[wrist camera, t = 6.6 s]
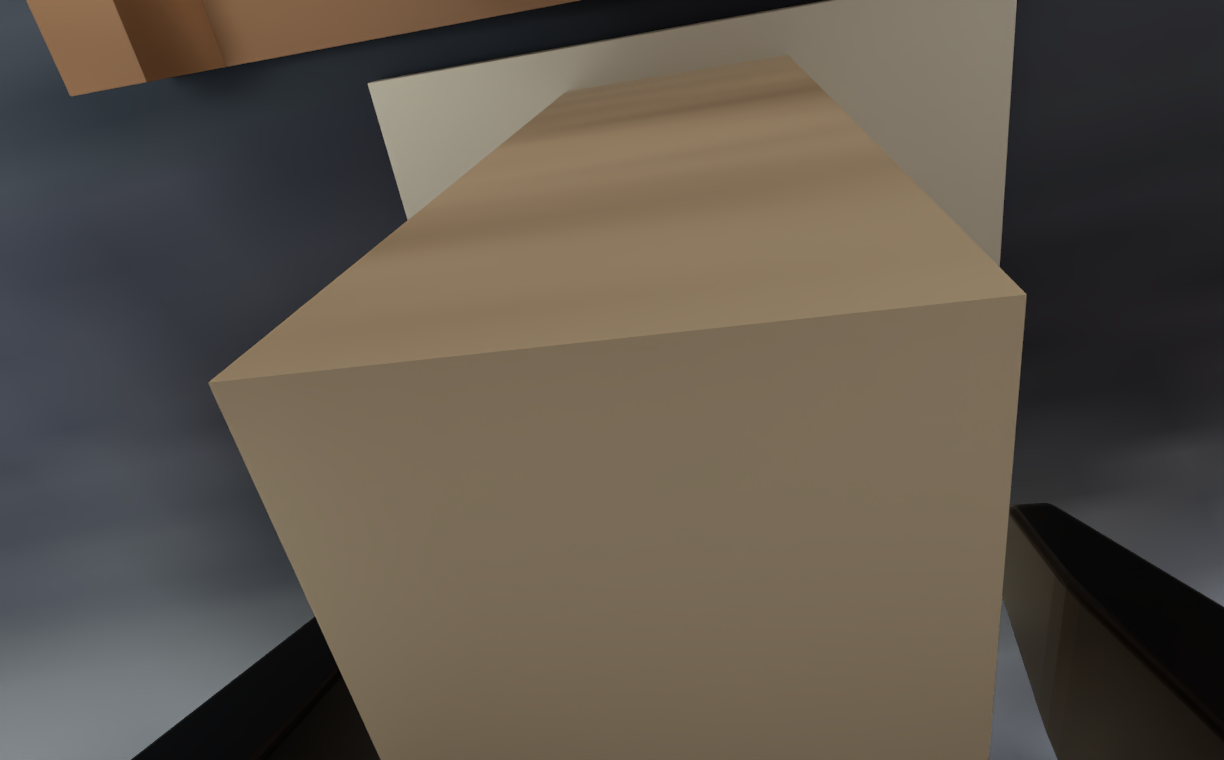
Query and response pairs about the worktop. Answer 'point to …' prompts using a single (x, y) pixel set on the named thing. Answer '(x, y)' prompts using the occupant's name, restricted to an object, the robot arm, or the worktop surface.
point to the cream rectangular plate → (810, 34)
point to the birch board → (655, 443)
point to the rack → (226, 32)
